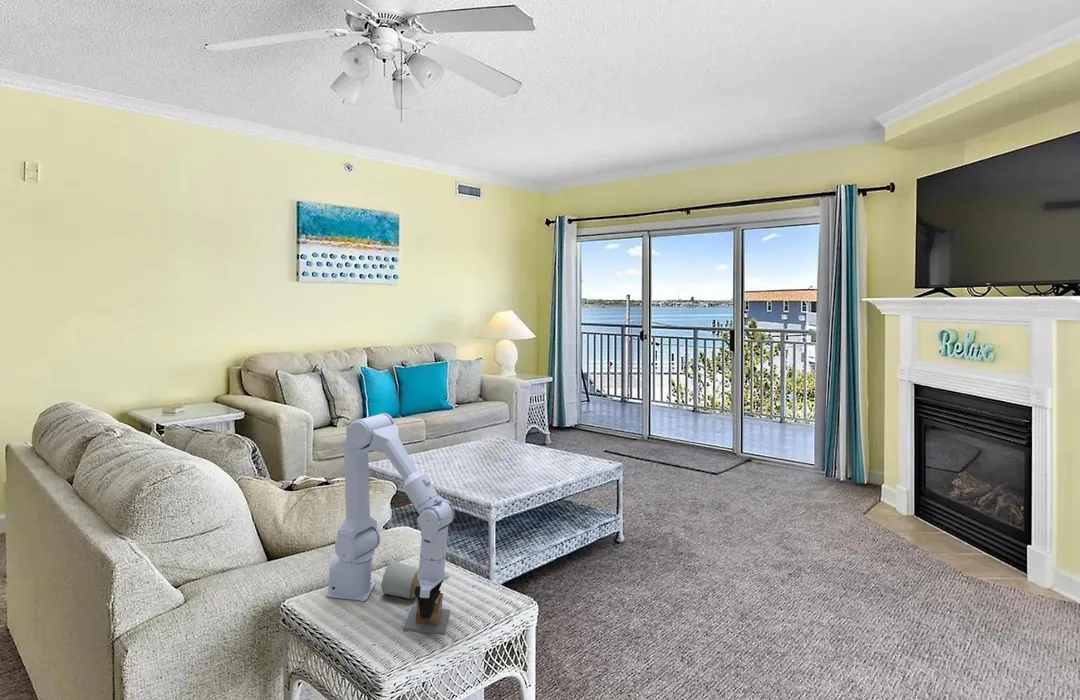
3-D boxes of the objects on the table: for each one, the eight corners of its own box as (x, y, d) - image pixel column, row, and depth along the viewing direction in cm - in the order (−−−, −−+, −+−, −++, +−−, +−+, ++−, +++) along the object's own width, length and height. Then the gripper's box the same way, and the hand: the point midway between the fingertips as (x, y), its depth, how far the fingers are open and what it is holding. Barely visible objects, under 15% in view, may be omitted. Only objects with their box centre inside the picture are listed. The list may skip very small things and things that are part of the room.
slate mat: (403, 630, 138) (403, 627, 138) (412, 608, 147) (412, 605, 147) (443, 634, 138) (443, 631, 138) (450, 612, 147) (450, 609, 147)
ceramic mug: (412, 605, 148) (414, 574, 147) (379, 599, 149) (382, 568, 149) (427, 585, 158) (430, 556, 158) (397, 578, 160) (400, 550, 159)
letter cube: (415, 623, 140) (417, 601, 139) (419, 611, 145) (421, 589, 144) (437, 625, 140) (439, 603, 139) (441, 613, 145) (443, 591, 144)
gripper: (445, 572, 133) (439, 631, 135) (455, 542, 148) (450, 596, 149) (412, 568, 133) (407, 627, 135) (425, 539, 148) (421, 593, 149)
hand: (428, 611), depth 142 cm, fingers closed on letter cube, 5 cm apart
